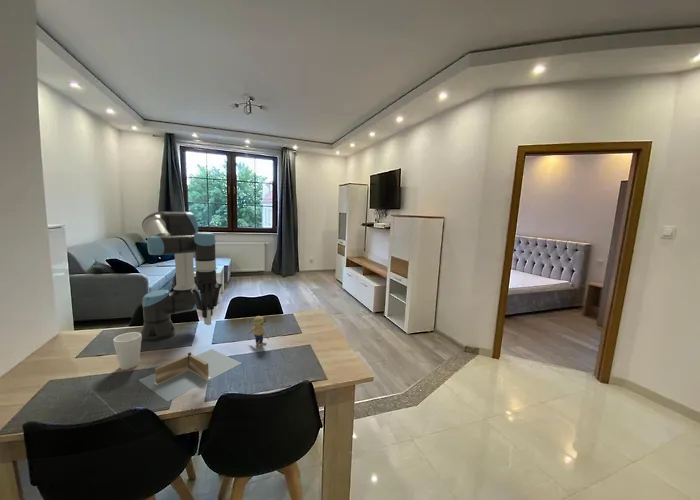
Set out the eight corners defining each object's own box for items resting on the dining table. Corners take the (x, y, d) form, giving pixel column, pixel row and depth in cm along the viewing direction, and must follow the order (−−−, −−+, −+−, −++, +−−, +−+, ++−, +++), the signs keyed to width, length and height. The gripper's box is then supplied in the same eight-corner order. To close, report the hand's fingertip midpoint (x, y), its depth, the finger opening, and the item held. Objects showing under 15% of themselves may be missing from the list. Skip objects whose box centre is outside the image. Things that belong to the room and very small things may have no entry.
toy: (273, 344, 146) (273, 316, 144) (265, 349, 141) (265, 320, 139) (254, 339, 151) (253, 312, 149) (246, 343, 146) (245, 315, 144)
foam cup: (120, 361, 126) (117, 333, 124) (145, 358, 130) (143, 330, 128) (112, 373, 117) (109, 343, 115) (140, 369, 121) (137, 340, 119)
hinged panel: (190, 366, 123) (190, 352, 122) (208, 377, 116) (208, 362, 115) (188, 367, 122) (187, 353, 121) (205, 378, 115) (205, 363, 114)
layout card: (138, 381, 113) (138, 380, 113) (211, 349, 139) (211, 348, 139) (167, 402, 102) (167, 401, 102) (241, 364, 128) (241, 363, 128)
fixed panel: (156, 382, 112) (155, 368, 111) (187, 368, 122) (186, 355, 121) (157, 384, 111) (156, 369, 110) (188, 369, 121) (188, 356, 120)
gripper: (214, 266, 127) (216, 317, 130) (184, 271, 116) (187, 326, 119) (225, 268, 123) (226, 321, 126) (195, 274, 112) (198, 331, 115)
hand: (207, 324), depth 123 cm, fingers closed
